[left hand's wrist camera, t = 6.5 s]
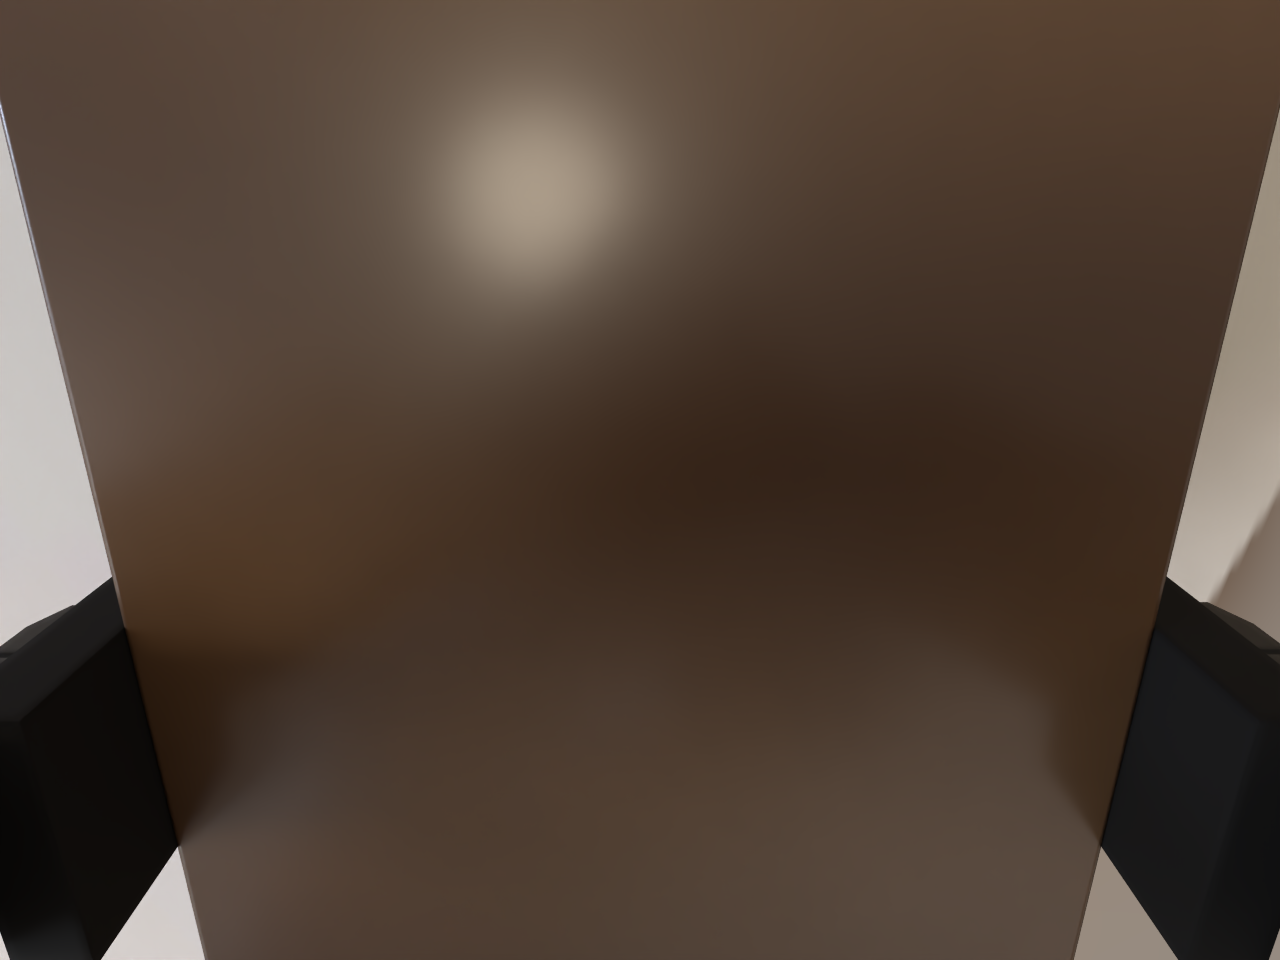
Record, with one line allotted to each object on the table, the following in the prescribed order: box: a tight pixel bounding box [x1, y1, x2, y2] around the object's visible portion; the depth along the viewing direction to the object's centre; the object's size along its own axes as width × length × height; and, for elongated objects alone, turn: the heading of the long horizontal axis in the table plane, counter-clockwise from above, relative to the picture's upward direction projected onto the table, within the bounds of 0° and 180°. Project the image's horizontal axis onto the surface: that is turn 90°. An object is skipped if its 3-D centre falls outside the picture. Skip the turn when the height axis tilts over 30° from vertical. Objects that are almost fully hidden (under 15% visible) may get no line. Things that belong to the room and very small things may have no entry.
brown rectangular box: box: [0, 0, 1280, 960], centre depth 11 cm, size 19×10×10 cm, turn 0°
